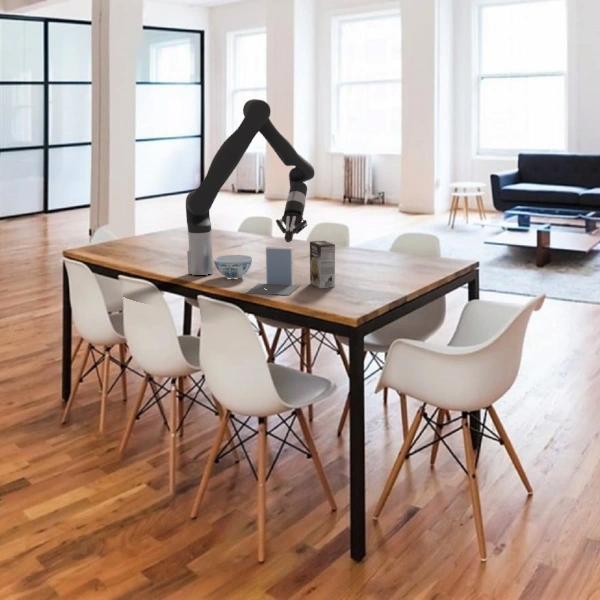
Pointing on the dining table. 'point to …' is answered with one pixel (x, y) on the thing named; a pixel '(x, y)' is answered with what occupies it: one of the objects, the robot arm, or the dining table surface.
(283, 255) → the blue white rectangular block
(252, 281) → the dining table surface
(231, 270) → the chinaware
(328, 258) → the coffee box
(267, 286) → the rubber mat
